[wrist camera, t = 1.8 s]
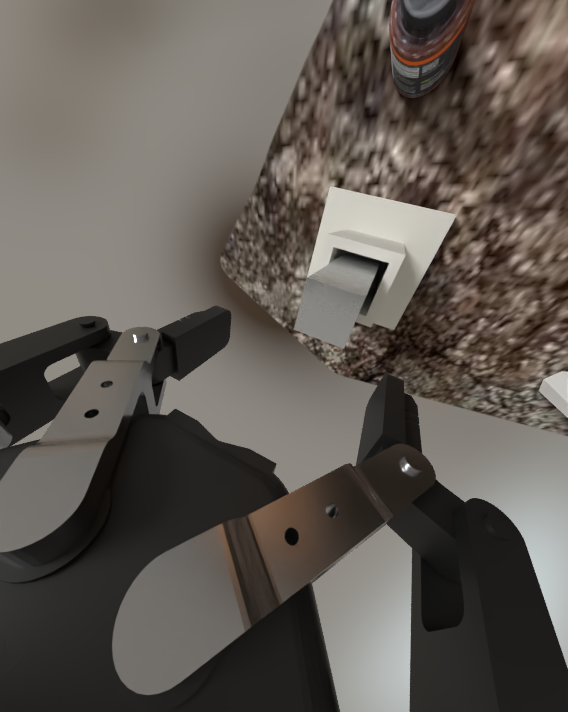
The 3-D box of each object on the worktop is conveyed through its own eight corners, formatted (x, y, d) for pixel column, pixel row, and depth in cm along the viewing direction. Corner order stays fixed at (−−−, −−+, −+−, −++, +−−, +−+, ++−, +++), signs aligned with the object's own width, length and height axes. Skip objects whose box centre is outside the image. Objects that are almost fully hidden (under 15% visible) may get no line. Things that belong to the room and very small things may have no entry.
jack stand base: (454, 215, 29) (493, 212, 17) (394, 326, 38) (391, 377, 26) (332, 187, 32) (293, 169, 20) (304, 295, 41) (266, 327, 29)
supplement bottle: (435, -8, 22) (460, -164, 13) (472, 46, 22) (521, -67, 13) (380, 70, 25) (370, -9, 16) (413, 115, 26) (420, 62, 17)
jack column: (384, 254, 32) (365, 297, 14) (370, 285, 34) (342, 353, 17) (356, 246, 33) (307, 277, 15) (345, 277, 35) (292, 334, 18)
